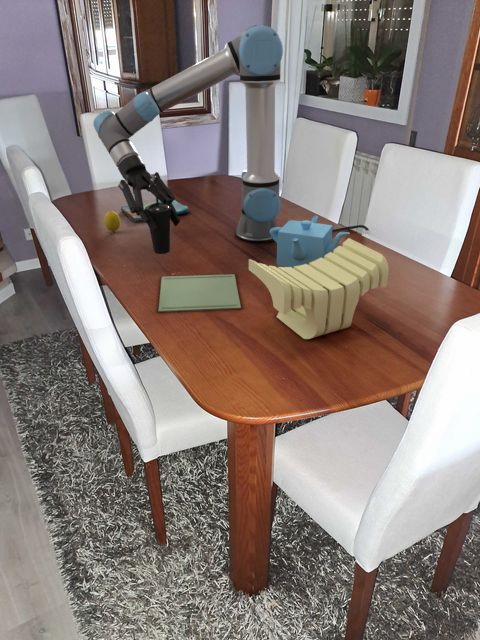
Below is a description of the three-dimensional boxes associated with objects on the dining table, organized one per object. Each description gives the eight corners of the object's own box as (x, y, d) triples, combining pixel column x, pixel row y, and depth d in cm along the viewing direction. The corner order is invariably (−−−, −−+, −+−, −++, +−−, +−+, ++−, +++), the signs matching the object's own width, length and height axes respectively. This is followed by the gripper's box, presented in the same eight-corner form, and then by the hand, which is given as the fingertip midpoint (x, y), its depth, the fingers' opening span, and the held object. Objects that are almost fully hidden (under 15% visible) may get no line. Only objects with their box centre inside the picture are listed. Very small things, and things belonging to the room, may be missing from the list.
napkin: (234, 275, 159) (234, 273, 159) (240, 308, 141) (240, 307, 141) (161, 277, 158) (161, 276, 157) (158, 312, 139) (158, 310, 139)
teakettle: (264, 261, 169) (265, 216, 161) (315, 252, 175) (318, 209, 168) (292, 284, 154) (294, 236, 147) (346, 273, 161) (351, 227, 153)
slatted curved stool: (281, 353, 122) (285, 284, 112) (248, 324, 134) (248, 258, 124) (380, 323, 134) (390, 258, 125) (341, 299, 146) (348, 238, 137)
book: (190, 213, 210) (190, 207, 209) (135, 223, 200) (134, 216, 198) (173, 202, 222) (173, 196, 221) (120, 211, 212) (119, 205, 211)
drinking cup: (144, 253, 160) (137, 187, 149) (157, 245, 166) (151, 181, 155) (166, 257, 157) (160, 190, 147) (178, 248, 163) (174, 183, 153)
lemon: (117, 235, 189) (115, 213, 184) (103, 234, 189) (100, 212, 185) (123, 230, 193) (121, 208, 189) (109, 229, 194) (106, 207, 190)
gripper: (151, 163, 165) (187, 225, 164) (94, 175, 153) (133, 242, 152) (160, 148, 159) (198, 212, 158) (102, 159, 147) (142, 228, 146)
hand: (166, 226), depth 155 cm, fingers closed on drinking cup, 8 cm apart
